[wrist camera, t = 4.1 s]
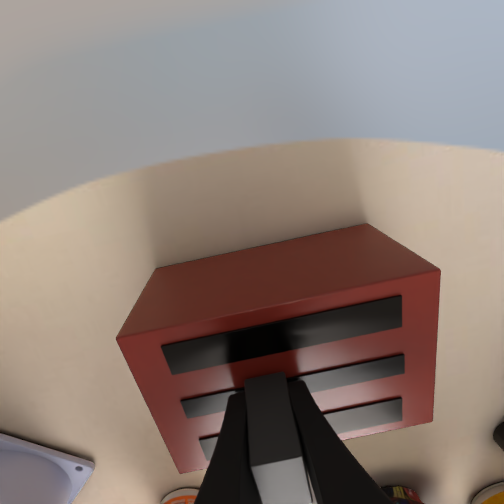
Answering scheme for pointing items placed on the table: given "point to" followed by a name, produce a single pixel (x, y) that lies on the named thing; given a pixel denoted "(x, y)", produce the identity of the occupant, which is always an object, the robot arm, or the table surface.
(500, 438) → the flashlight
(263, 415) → the slider
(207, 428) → the toaster
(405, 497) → the egg
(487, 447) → the table surface
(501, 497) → the beer can
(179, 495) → the pill bottle
